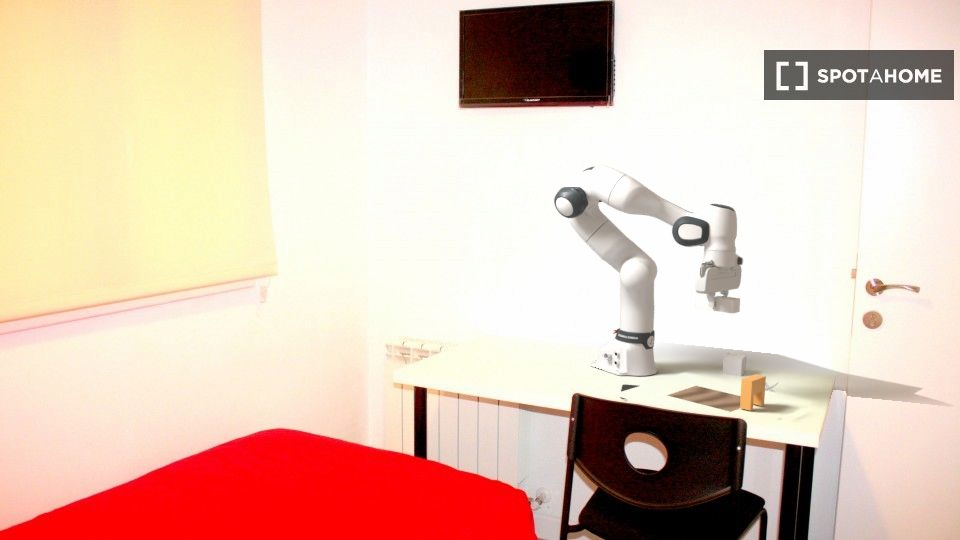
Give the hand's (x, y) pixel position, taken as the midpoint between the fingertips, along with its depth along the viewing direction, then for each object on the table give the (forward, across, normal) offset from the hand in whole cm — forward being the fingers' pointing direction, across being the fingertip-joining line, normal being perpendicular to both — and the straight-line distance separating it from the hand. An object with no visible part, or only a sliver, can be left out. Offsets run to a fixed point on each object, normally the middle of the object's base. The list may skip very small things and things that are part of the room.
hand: (716, 306), depth 215 cm
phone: (+28, -16, +17) cm, 36 cm away
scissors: (+28, +20, -8) cm, 35 cm away
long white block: (+1, 0, 0) cm, 1 cm away
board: (+27, -7, -4) cm, 28 cm away
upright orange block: (+25, -7, -16) cm, 31 cm away
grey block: (+27, +30, +9) cm, 42 cm away
